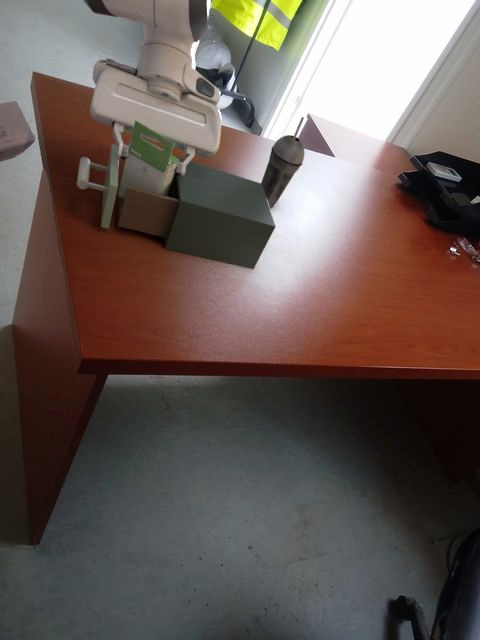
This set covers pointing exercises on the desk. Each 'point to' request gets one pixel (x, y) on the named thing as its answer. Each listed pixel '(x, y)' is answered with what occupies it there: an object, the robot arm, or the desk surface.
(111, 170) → the drawer
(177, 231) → the cabinet
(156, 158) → the ink box
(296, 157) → the beverage cup
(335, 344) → the desk surface
